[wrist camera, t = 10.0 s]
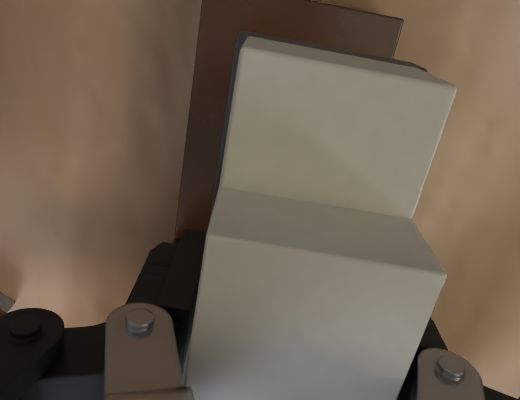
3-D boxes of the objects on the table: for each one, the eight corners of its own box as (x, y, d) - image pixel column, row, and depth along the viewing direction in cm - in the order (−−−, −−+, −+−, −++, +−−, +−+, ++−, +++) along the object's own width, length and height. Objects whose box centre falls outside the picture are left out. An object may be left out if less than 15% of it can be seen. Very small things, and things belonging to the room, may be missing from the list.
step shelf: (214, -18, 23) (179, -27, 14) (384, 15, 24) (455, 27, 15) (177, 273, 31) (139, 390, 22) (308, 294, 31) (325, 418, 22)
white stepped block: (240, 29, 11) (216, 56, 6) (413, 62, 11) (529, 115, 6) (193, 343, 15) (155, 518, 10) (321, 362, 16) (347, 543, 10)
